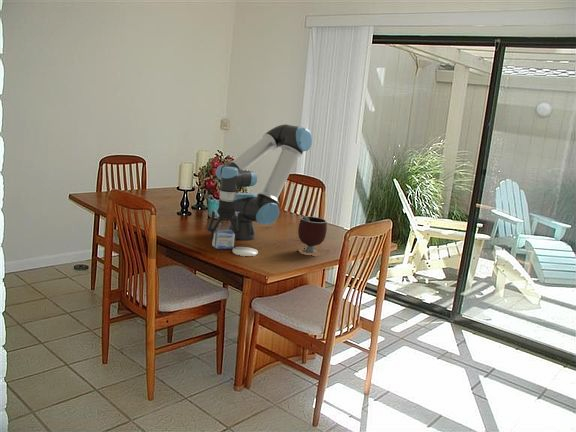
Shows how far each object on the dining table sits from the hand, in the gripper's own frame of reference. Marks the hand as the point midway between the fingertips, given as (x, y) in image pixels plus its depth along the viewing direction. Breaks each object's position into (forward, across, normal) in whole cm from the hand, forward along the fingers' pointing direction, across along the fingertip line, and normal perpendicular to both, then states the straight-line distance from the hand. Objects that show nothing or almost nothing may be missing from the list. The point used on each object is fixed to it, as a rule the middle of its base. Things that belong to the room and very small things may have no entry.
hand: (222, 245), depth 267 cm
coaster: (+1, +10, -6) cm, 12 cm away
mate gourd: (+2, +43, -1) cm, 43 cm away
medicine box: (+1, 0, 0) cm, 1 cm away
